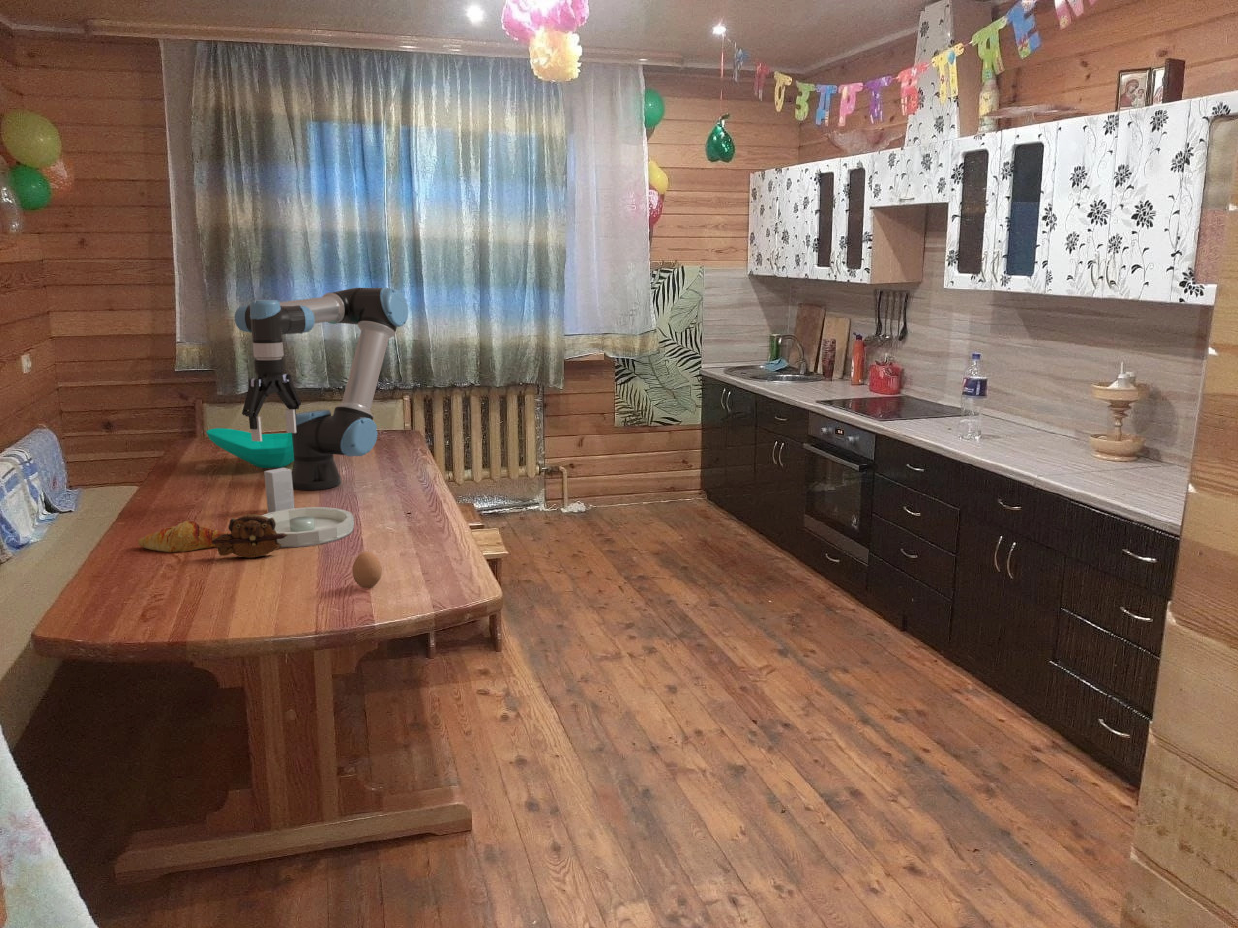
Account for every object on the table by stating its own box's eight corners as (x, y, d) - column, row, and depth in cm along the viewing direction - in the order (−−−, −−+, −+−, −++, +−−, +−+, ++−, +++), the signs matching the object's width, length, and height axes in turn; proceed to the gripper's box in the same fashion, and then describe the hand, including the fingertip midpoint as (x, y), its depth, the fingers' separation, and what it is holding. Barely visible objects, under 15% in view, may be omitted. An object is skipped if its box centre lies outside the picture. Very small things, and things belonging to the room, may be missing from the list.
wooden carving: (212, 563, 214) (208, 521, 212) (215, 557, 219) (211, 516, 217) (288, 557, 219) (285, 516, 217) (289, 551, 223) (286, 511, 221)
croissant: (136, 566, 223) (127, 542, 218) (146, 537, 231) (137, 513, 226) (229, 560, 226) (222, 537, 221) (236, 531, 234) (229, 508, 229)
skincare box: (286, 508, 262) (283, 467, 259) (295, 511, 259) (292, 469, 256) (266, 513, 257) (263, 470, 254) (275, 515, 254) (271, 473, 252)
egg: (388, 587, 199) (386, 551, 197) (363, 594, 194) (361, 558, 193) (372, 580, 203) (370, 545, 201) (347, 587, 198) (345, 552, 196)
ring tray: (295, 516, 254) (294, 503, 253) (373, 525, 245) (372, 512, 245) (228, 541, 231) (226, 527, 230) (310, 552, 222) (309, 538, 222)
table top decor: (204, 479, 297) (200, 438, 294) (214, 461, 323) (210, 424, 320) (334, 471, 308) (331, 432, 306) (333, 455, 334) (331, 418, 332)
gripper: (288, 354, 262) (294, 428, 266) (223, 362, 239) (230, 443, 243) (310, 355, 259) (315, 430, 263) (246, 363, 236) (253, 445, 241)
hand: (274, 436), depth 253 cm, fingers open, 13 cm apart
